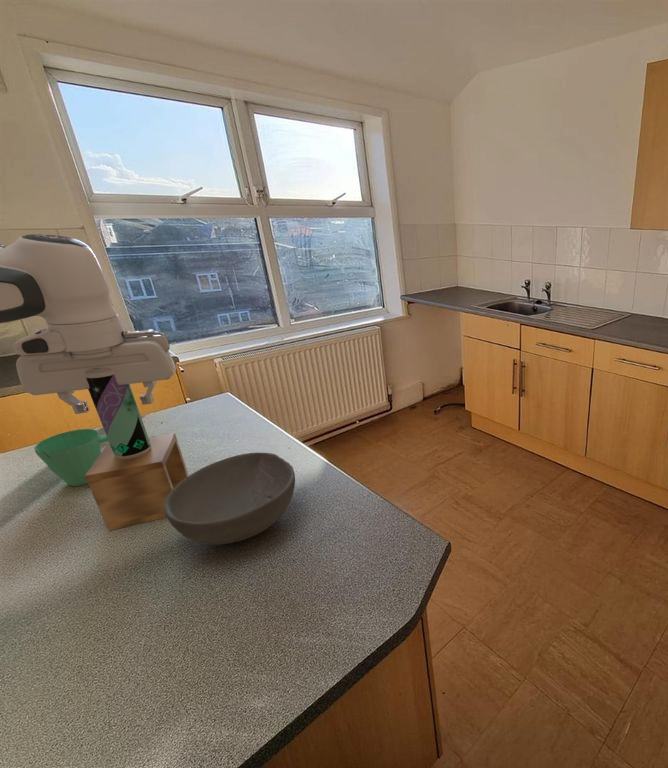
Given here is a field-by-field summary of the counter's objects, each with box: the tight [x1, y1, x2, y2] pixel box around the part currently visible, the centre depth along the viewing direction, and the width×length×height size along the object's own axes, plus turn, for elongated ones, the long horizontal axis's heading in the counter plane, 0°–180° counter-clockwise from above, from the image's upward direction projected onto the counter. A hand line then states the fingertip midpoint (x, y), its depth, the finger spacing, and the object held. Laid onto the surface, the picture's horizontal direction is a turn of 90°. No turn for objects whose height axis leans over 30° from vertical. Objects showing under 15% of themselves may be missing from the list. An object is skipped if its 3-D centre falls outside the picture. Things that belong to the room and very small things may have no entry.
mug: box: [33, 428, 109, 487], centre depth 94 cm, size 15×10×10 cm
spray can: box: [85, 368, 152, 460], centre depth 79 cm, size 6×6×20 cm
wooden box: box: [85, 432, 190, 531], centre depth 85 cm, size 11×12×12 cm
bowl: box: [164, 452, 296, 545], centre depth 80 cm, size 20×20×10 cm
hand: (116, 407), depth 79 cm, fingers open, 8 cm apart
